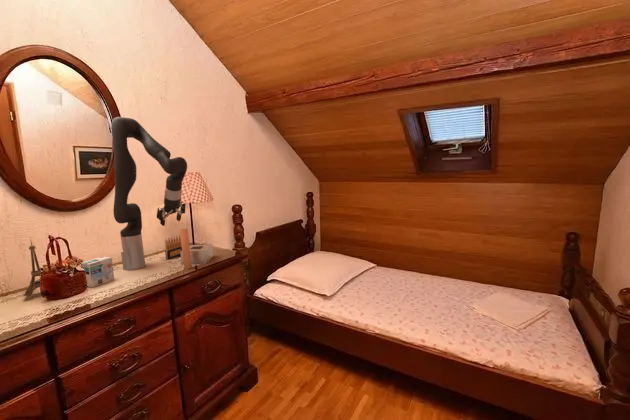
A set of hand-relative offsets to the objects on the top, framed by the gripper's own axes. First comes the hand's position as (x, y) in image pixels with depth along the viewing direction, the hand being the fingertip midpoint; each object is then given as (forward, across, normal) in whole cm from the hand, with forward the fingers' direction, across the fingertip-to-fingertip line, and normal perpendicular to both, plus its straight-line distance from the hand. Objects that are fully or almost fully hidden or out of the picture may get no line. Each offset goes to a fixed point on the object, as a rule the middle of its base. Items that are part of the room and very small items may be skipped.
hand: (170, 222), depth 162 cm
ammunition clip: (+27, -6, -1) cm, 28 cm away
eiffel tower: (+22, +54, -6) cm, 59 cm away
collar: (+19, -8, +15) cm, 25 cm away
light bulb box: (+20, +35, +2) cm, 40 cm away
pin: (+14, +3, +21) cm, 25 cm away
